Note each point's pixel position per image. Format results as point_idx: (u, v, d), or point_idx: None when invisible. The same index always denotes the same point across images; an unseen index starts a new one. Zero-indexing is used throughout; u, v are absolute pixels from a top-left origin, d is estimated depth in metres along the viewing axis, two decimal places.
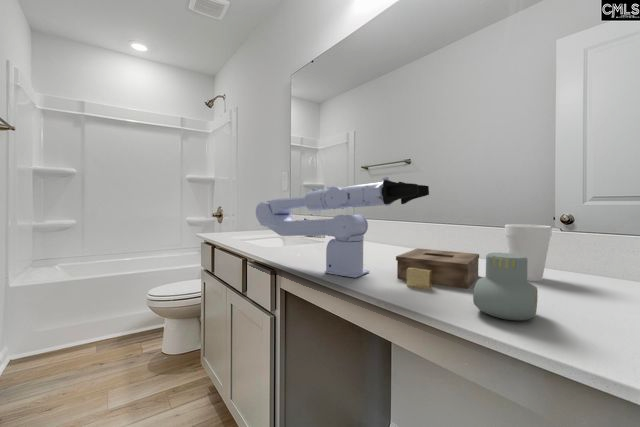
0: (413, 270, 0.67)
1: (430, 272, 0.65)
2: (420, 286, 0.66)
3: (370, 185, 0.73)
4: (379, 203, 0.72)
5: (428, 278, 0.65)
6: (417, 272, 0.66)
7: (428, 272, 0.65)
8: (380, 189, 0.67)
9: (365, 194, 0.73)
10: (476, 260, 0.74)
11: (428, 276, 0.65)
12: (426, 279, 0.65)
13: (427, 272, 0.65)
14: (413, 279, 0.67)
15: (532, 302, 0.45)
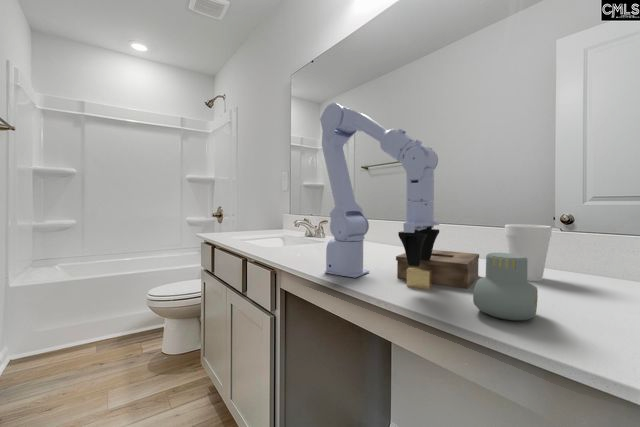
0: (413, 270, 0.67)
1: (430, 272, 0.65)
2: (420, 286, 0.66)
3: (427, 208, 0.63)
4: (406, 217, 0.66)
5: (428, 278, 0.65)
6: (417, 272, 0.66)
7: (428, 272, 0.65)
8: None
9: (415, 203, 0.64)
10: (476, 260, 0.74)
11: (428, 276, 0.65)
12: (426, 279, 0.65)
13: (427, 272, 0.65)
14: (413, 279, 0.67)
15: (532, 302, 0.45)
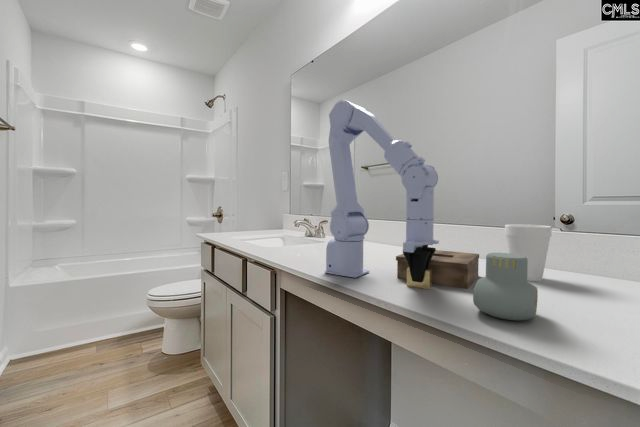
0: None
1: (430, 272, 0.65)
2: (420, 286, 0.66)
3: (427, 226, 0.64)
4: (406, 234, 0.67)
5: (428, 278, 0.65)
6: None
7: (428, 272, 0.65)
8: None
9: (415, 222, 0.64)
10: (476, 260, 0.74)
11: (428, 276, 0.65)
12: (426, 279, 0.65)
13: (427, 272, 0.65)
14: None
15: (532, 302, 0.45)
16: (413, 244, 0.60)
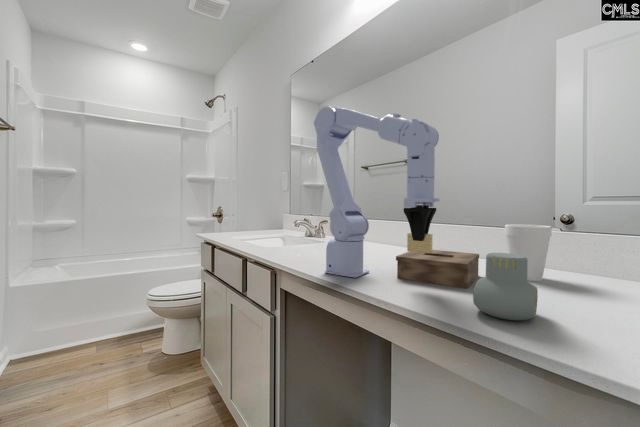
0: None
1: (431, 236, 0.65)
2: (421, 250, 0.66)
3: (428, 184, 0.63)
4: (407, 194, 0.66)
5: (429, 241, 0.65)
6: None
7: (429, 235, 0.65)
8: (412, 207, 0.61)
9: (416, 180, 0.64)
10: (476, 260, 0.74)
11: (429, 239, 0.65)
12: (427, 242, 0.65)
13: (428, 235, 0.65)
14: (414, 243, 0.67)
15: (532, 302, 0.45)
16: (414, 199, 0.60)
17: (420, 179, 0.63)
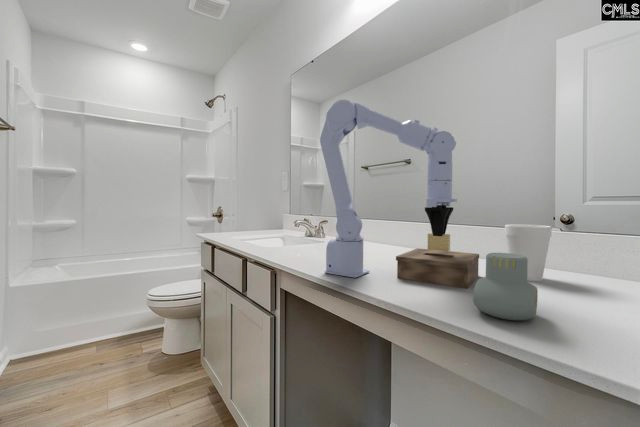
0: None
1: (449, 235, 0.74)
2: (440, 248, 0.75)
3: (446, 186, 0.72)
4: (427, 195, 0.75)
5: (447, 241, 0.74)
6: (437, 236, 0.75)
7: (447, 235, 0.74)
8: (433, 206, 0.70)
9: (436, 182, 0.73)
10: (476, 260, 0.74)
11: (447, 239, 0.74)
12: (445, 242, 0.74)
13: (446, 235, 0.74)
14: (434, 243, 0.76)
15: (532, 302, 0.45)
16: (435, 200, 0.69)
17: (440, 182, 0.72)
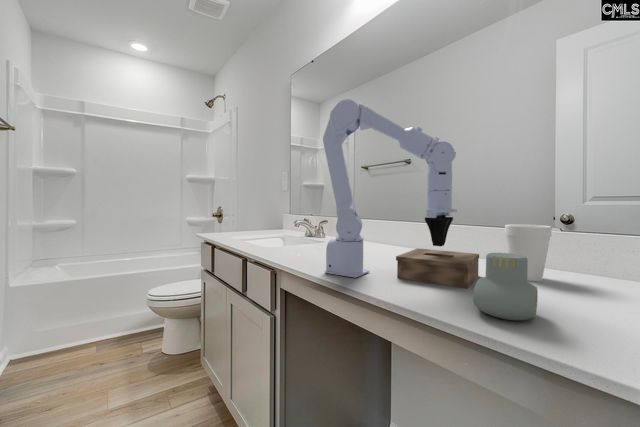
0: None
1: None
2: None
3: (446, 196, 0.72)
4: (427, 205, 0.75)
5: None
6: None
7: None
8: (433, 217, 0.70)
9: (436, 193, 0.73)
10: (476, 260, 0.74)
11: None
12: None
13: None
14: None
15: (532, 302, 0.45)
16: (435, 210, 0.69)
17: (440, 192, 0.72)
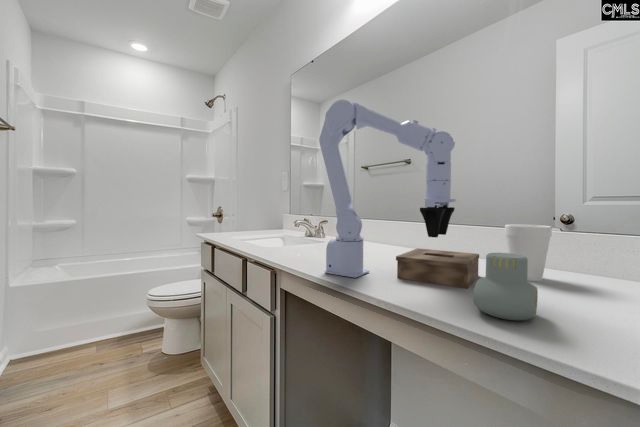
0: None
1: None
2: None
3: (445, 186, 0.73)
4: (426, 195, 0.76)
5: None
6: None
7: None
8: (432, 207, 0.70)
9: (435, 183, 0.73)
10: (476, 260, 0.74)
11: None
12: None
13: None
14: None
15: (532, 302, 0.45)
16: (434, 200, 0.69)
17: (438, 182, 0.73)
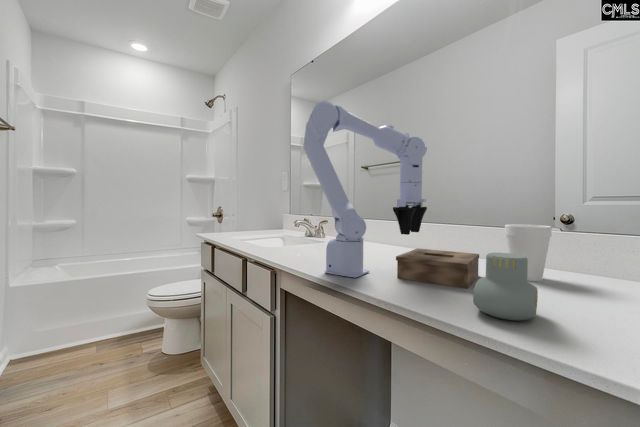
0: None
1: None
2: None
3: (416, 187, 0.79)
4: (400, 195, 0.82)
5: None
6: None
7: None
8: (403, 206, 0.76)
9: (407, 184, 0.79)
10: (476, 260, 0.74)
11: None
12: None
13: None
14: None
15: (532, 302, 0.45)
16: (405, 200, 0.76)
17: (410, 184, 0.79)
